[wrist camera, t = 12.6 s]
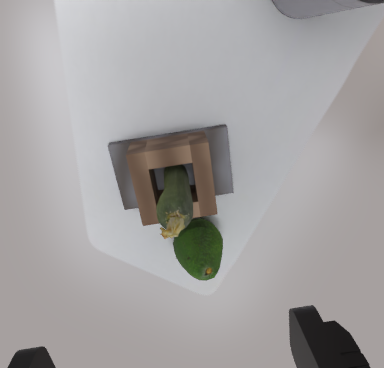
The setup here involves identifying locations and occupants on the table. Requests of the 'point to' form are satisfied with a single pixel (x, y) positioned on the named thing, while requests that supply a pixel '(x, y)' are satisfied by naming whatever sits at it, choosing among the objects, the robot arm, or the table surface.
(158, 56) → the table surface
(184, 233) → the avocado
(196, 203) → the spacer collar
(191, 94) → the table surface
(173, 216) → the vegetable
